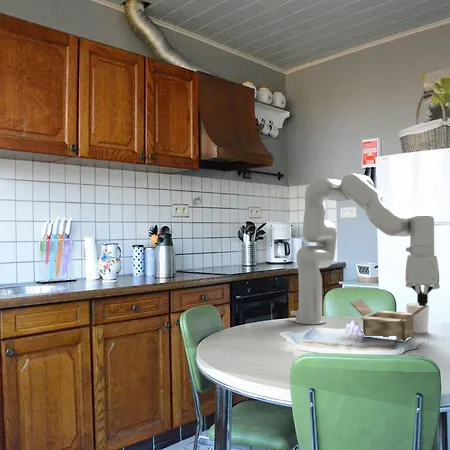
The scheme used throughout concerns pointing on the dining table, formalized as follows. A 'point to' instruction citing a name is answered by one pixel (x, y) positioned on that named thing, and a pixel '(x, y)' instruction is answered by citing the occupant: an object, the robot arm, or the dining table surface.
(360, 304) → the flap
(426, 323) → the white cup
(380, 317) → the carton
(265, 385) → the dining table surface
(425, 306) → the flap
